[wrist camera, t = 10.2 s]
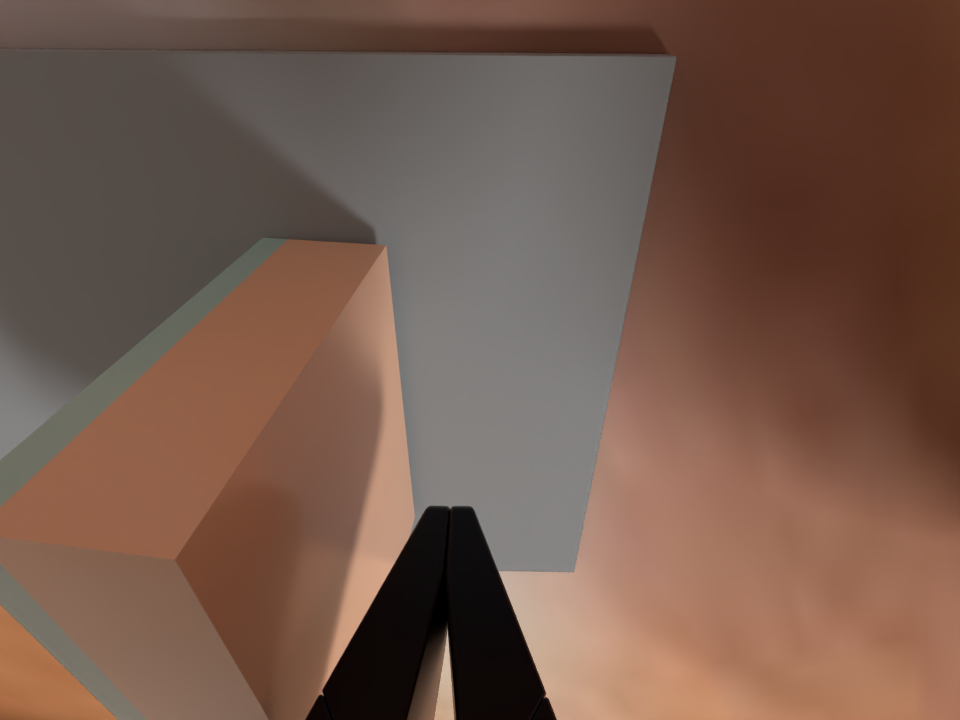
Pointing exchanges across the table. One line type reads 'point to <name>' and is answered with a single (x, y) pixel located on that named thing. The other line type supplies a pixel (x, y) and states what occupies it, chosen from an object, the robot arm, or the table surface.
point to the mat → (349, 236)
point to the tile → (220, 494)
